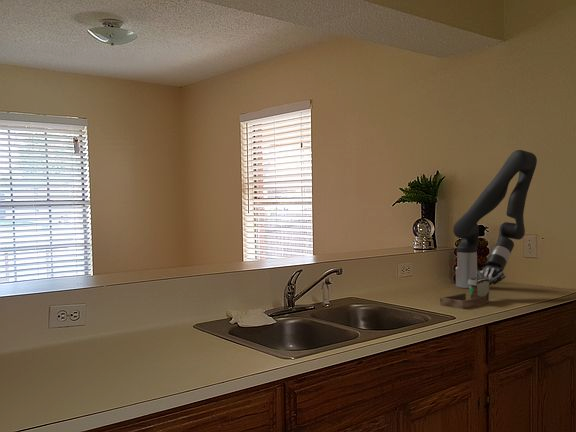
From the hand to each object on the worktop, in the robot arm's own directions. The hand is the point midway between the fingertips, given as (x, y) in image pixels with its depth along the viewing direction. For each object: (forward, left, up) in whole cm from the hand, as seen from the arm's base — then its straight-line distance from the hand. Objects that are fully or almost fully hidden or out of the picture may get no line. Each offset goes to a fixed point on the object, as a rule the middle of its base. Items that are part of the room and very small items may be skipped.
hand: (483, 290), depth 227 cm
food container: (0, -5, -5) cm, 7 cm away
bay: (-1, -12, -4) cm, 13 cm away
